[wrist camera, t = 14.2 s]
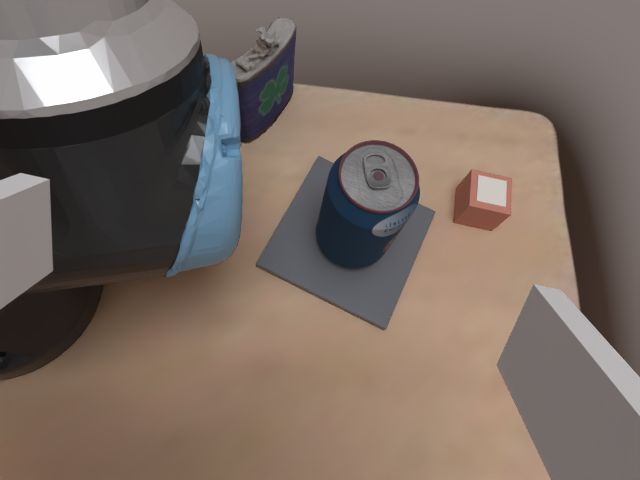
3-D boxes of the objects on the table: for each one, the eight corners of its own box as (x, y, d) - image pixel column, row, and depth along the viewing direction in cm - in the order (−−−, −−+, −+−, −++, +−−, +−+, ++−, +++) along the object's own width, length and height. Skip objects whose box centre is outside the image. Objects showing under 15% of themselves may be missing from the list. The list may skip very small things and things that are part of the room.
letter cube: (452, 222, 45) (470, 204, 41) (455, 188, 46) (472, 168, 42) (491, 231, 45) (511, 214, 41) (492, 197, 46) (512, 177, 42)
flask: (279, 78, 49) (280, -6, 39) (301, 92, 49) (308, 10, 39) (227, 135, 46) (215, 59, 36) (250, 150, 45) (245, 77, 35)
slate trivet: (256, 266, 41) (256, 263, 40) (317, 160, 46) (318, 156, 45) (383, 330, 40) (385, 328, 39) (432, 215, 45) (435, 211, 44)
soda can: (392, 268, 41) (437, 216, 30) (319, 275, 40) (337, 223, 29) (379, 202, 44) (416, 130, 32) (310, 207, 43) (324, 134, 32)
